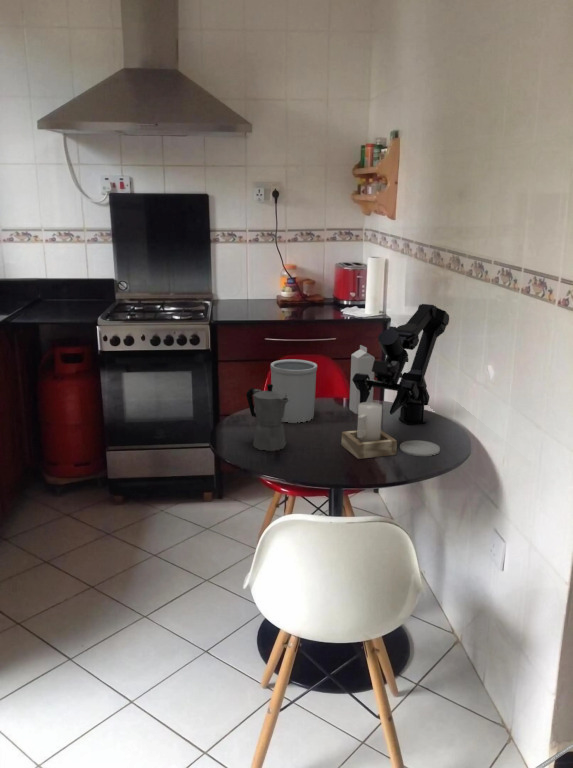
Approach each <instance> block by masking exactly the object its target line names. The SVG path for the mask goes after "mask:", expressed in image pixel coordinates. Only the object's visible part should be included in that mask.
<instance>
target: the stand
mask: <svg viewBox="0 0 573 768" xmlns="http://www.w3.org/2000/svg"><path fill="white" fill-rule="evenodd" d="M340 446H341V447H343V448H344V449H346V450H347V451H348V452H349V453H350V454H352V455H353V456H354V457H355V458H356V459H357V460H360V459H368V458H370V459H371V458H378V457H385V456H386V457H387V456H395V455H397V448H398V447H397V446H398V440H396V439H395V438H393V437H392V436H390V435H389V434H388V433H386V432H385V431H383V430H382V429H381V437H380V441H371V442H360V441H359V440H358V439H357V429H356V430H346V431H341V445H340Z"/></svg>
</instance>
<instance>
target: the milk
mask: <svg viewBox="0 0 573 768" xmlns="http://www.w3.org/2000/svg"><path fill="white" fill-rule="evenodd" d="M350 356H351V358H350V384H349V386H350V387H349V406H348V407H349V408H348V409H349V410H350V411H351V412H353V413H354V414H355V415H358V408H359V404H360V391H359V390H358V389H357V388H356V386H355V384H354V382H353V380H352V379H353V377H354V375H355V374H356V373H361V374H368V376H369V378H370V380H375V373H374V372H372V367H373V363H374V361H375V360H376V358H375V356H373V355H371V354H370V353H368V347H366V346H365V345H363V344H360V345H359V349H358V350H356V351H354V352H353V353H351V355H350ZM374 388H375V387H372V388H371V390H370V391H369V392H370V395H369V397H368V399H367V401H366V402H374Z"/></svg>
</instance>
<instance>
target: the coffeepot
mask: <svg viewBox="0 0 573 768" xmlns="http://www.w3.org/2000/svg"><path fill="white" fill-rule="evenodd" d="M266 387H267V390H261V389H258V388H253V387H251V388H249V389H248V391H246V394H245V395H246V400H247V403H248V408H249V411H250V415H251V417H254V418H257V423H256V426H255V427H256V428H255V432H254V438H253V442H252V443H253V444H252V446H253V447H254V449H256V448H257V449H256V450H259V451H262V450H266V451H265V452H276V450H277V451H281V450H282V449H284V448H285V447H286V445H287V444H286V436H285V430H284V424H283V422H282V418H283V416H284V410H285V404H286V403H287V402H288V401H289V399H287V398H286V397H287V394H285V393H283V392H280V391H273V390H272V388H273V385H272V384H271V383H268V384H266ZM280 449H281V450H280Z"/></svg>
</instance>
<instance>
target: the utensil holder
mask: <svg viewBox="0 0 573 768" xmlns="http://www.w3.org/2000/svg"><path fill="white" fill-rule="evenodd" d="M270 370H271V371H270V373H271V374H270V375H271V376H270V377H271V378H270V384H272V385H273V388H272V390H273V391H280V392H283V393H285V394H287V397H286V398H287V399H289V401H288V402H287V403H286V404H285V410H284V416H283V418H282V423H285V422H288V423H287V424H301V423H300V422H303V423H307V422H306V421H308V422H311V421H312V420H313V419H314V415H315V413H314V412H315V401H316V400H315V399H316V382H317V381H316V380H317V370H318V364H317V363H316V362H313V361H310V360H305V359H294V358H293V359H280V360H279V359H278V360H275V361H273V362H271V363H270ZM311 419H312V420H311ZM297 422H298V423H297Z"/></svg>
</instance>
